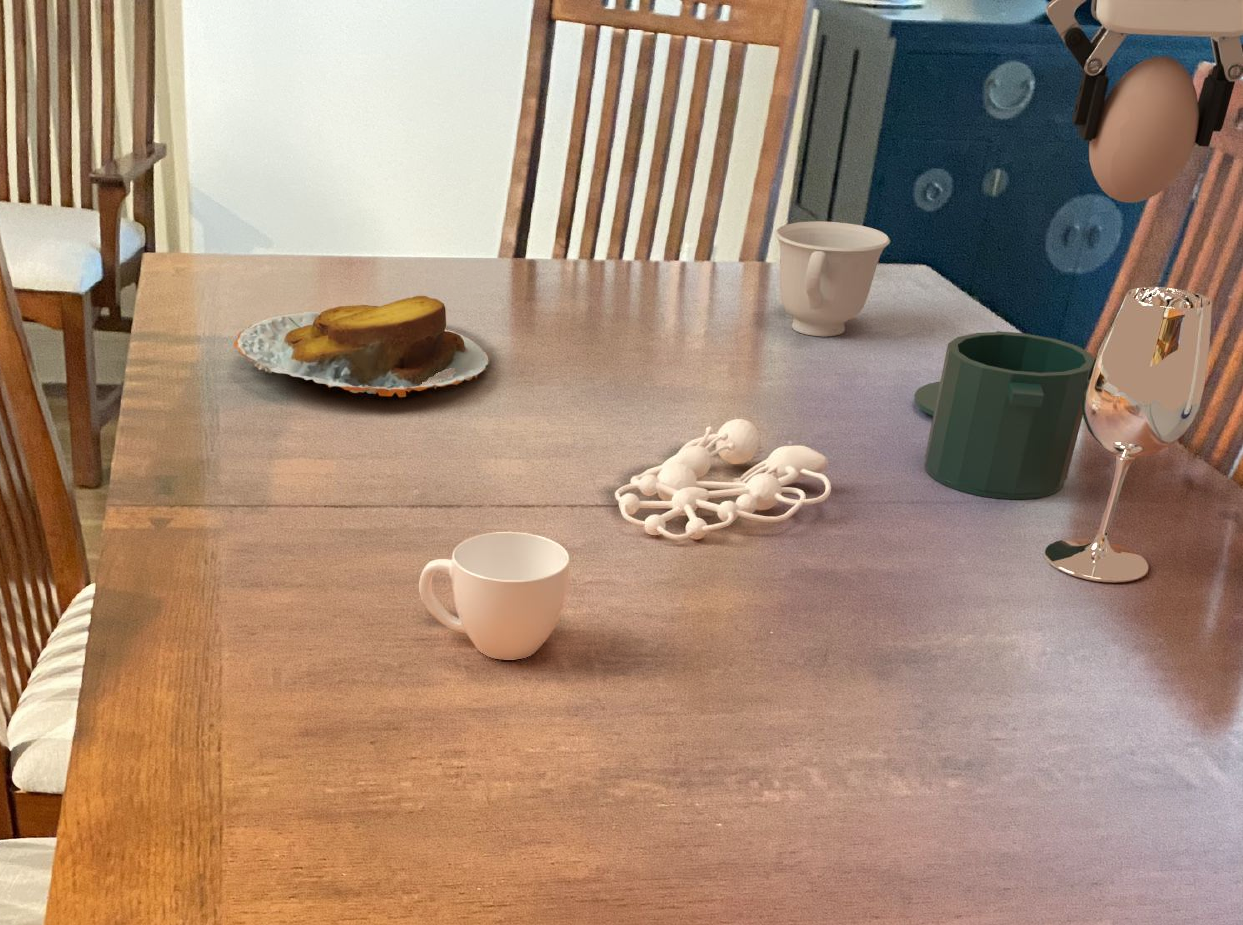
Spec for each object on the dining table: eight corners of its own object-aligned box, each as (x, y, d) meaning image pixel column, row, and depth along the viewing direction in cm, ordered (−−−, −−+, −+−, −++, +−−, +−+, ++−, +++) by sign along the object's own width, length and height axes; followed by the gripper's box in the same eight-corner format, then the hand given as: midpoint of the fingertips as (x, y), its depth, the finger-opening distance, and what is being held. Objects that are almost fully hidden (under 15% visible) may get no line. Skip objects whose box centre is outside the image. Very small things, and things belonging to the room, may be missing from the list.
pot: (1052, 445, 136) (1082, 329, 130) (1075, 518, 122) (1108, 391, 116) (920, 433, 138) (943, 318, 132) (928, 503, 124) (954, 378, 119)
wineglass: (1020, 550, 117) (1085, 288, 106) (1097, 535, 119) (1168, 277, 108) (1092, 591, 111) (1169, 318, 100) (1172, 574, 114) (1256, 306, 102)
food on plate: (278, 326, 163) (276, 264, 159) (505, 343, 159) (508, 280, 156) (204, 402, 142) (199, 332, 138) (463, 424, 138) (465, 353, 135)
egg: (1198, 205, 104) (1238, 59, 99) (1139, 216, 101) (1177, 66, 95) (1115, 187, 108) (1149, 46, 103) (1056, 198, 105) (1088, 53, 100)
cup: (555, 679, 99) (561, 586, 95) (407, 663, 100) (407, 571, 96) (570, 626, 105) (576, 537, 101) (430, 612, 106) (431, 523, 103)
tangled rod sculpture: (707, 580, 114) (715, 532, 112) (570, 508, 122) (575, 462, 120) (856, 508, 125) (867, 462, 122) (721, 446, 133) (729, 402, 130)
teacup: (745, 344, 160) (757, 247, 154) (775, 308, 172) (787, 216, 166) (859, 359, 156) (876, 260, 151) (882, 321, 168) (898, 228, 162)
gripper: (1080, -175, 91) (1014, 144, 101) (1392, -170, 88) (1292, 157, 98) (1064, -176, 97) (1004, 124, 107) (1355, -172, 94) (1265, 136, 104)
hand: (1142, 137), depth 102 cm, fingers closed on egg, 6 cm apart
